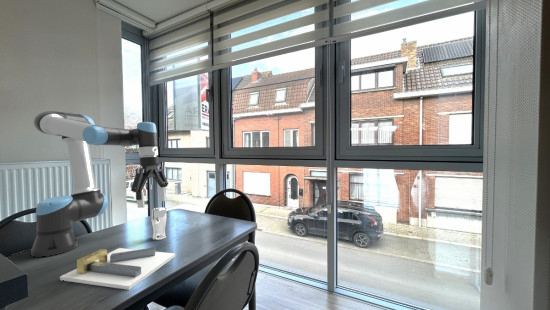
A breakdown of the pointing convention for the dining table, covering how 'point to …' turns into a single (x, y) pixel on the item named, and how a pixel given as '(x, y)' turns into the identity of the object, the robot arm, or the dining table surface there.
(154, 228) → the beer glass
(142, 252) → the moving jaw
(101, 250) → the collar
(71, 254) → the dining table surface
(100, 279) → the board
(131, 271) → the fixed jaw
